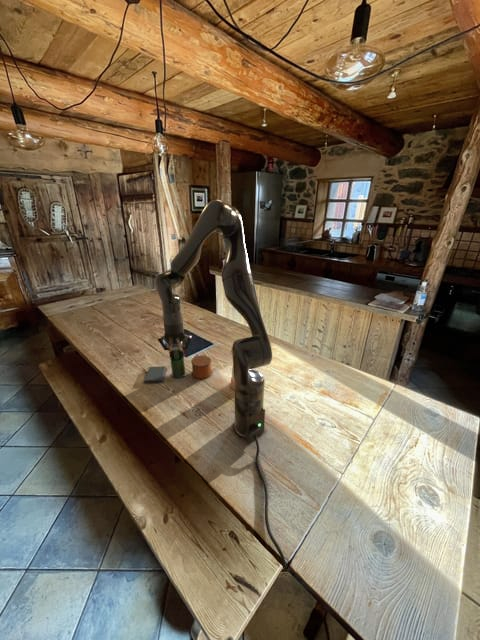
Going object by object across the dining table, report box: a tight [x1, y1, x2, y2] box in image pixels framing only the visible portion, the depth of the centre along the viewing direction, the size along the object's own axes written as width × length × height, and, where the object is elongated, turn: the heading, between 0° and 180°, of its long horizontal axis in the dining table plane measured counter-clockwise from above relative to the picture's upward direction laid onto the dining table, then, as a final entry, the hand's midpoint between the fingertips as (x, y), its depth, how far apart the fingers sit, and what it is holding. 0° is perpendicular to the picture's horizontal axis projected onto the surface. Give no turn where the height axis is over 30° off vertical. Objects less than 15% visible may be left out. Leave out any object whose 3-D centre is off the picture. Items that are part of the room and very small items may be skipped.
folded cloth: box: [143, 365, 167, 384], centre depth 115 cm, size 10×7×1 cm
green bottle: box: [169, 346, 186, 378], centre depth 113 cm, size 6×6×12 cm
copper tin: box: [190, 355, 212, 380], centre depth 115 cm, size 8×8×7 cm
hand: (177, 357), depth 112 cm, fingers closed on green bottle, 3 cm apart
